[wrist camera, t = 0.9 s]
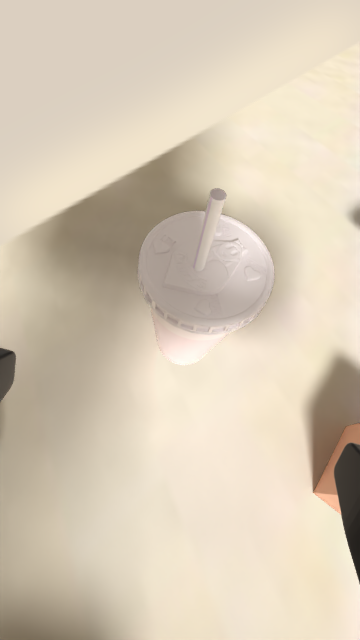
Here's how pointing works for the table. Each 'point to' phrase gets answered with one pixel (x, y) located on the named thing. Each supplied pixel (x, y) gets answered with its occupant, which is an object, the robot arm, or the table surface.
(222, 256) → the smoothie
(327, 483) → the terracotta block
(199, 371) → the table surface
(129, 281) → the table surface
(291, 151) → the table surface
